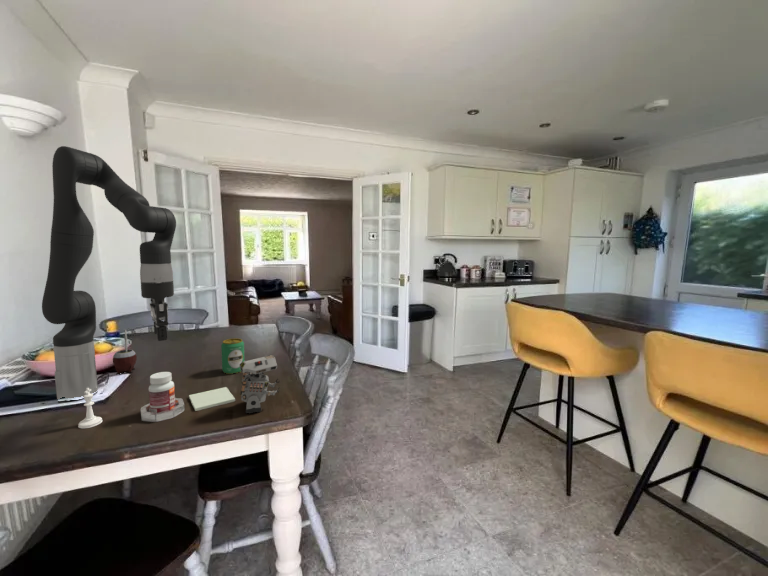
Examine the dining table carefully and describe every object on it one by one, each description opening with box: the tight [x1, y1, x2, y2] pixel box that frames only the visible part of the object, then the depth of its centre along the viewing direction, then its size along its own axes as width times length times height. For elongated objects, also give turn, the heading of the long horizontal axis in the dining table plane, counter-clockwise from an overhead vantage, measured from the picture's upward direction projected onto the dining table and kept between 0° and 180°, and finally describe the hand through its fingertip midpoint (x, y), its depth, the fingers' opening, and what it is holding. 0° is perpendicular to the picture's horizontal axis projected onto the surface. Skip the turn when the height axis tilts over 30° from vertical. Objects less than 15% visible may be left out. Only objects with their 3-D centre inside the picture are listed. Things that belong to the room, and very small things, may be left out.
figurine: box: [239, 354, 281, 414], centre depth 101 cm, size 9×12×15 cm
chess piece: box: [77, 388, 103, 429], centre depth 89 cm, size 5×5×10 cm
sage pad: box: [188, 386, 236, 412], centre depth 105 cm, size 11×11×1 cm
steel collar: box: [140, 397, 185, 423], centre depth 96 cm, size 10×10×2 cm
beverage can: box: [220, 337, 246, 375], centre depth 129 cm, size 8×8×12 cm
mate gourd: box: [112, 329, 137, 375], centre depth 126 cm, size 8×8×15 cm
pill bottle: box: [148, 371, 176, 413], centre depth 96 cm, size 6×6×11 cm
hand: (160, 336), depth 94 cm, fingers open, 8 cm apart
